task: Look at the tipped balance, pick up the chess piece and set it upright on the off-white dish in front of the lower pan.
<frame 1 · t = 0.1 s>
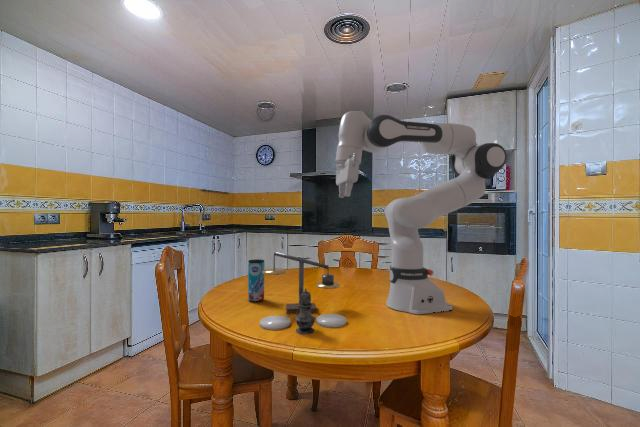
hand: (344, 197, 107), 39 cm above the table, tool pointing down, fingers open, 8 cm apart
beverage can: (256, 301, 115), on the table
chess piece: (305, 331, 87), on the table
dish low side: (331, 322, 94), on the table
balance: (301, 310, 104), on the table
dish high side: (275, 324, 91), on the table
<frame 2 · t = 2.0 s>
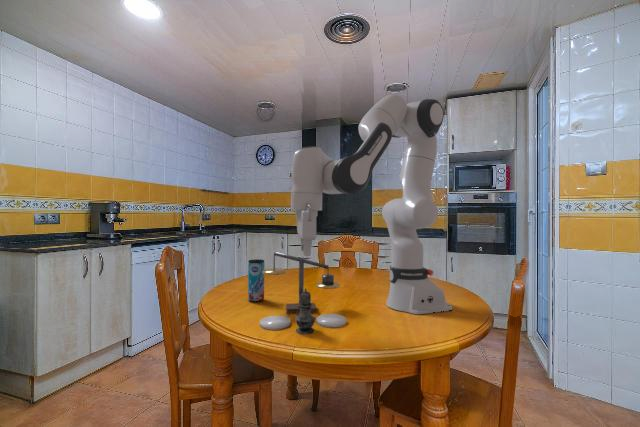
hand: (305, 253, 86), 22 cm above the table, tool pointing down, fingers open, 8 cm apart
nothing on the table moved.
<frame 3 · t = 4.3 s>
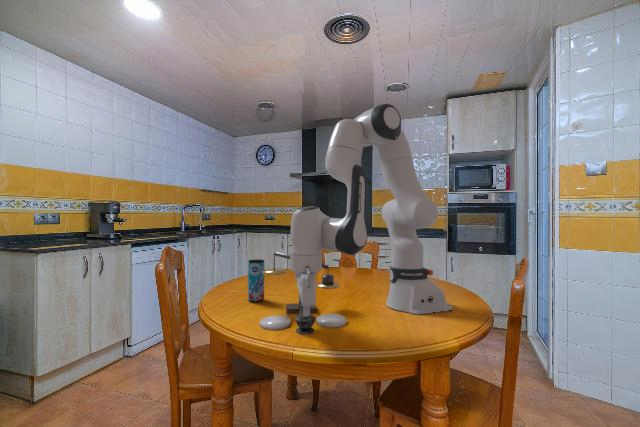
hand: (305, 312, 87), 5 cm above the table, tool pointing down, fingers closed on chess piece, 3 cm apart
chess piece: (305, 331, 87), on the table, touching gripper
everything else where it was.
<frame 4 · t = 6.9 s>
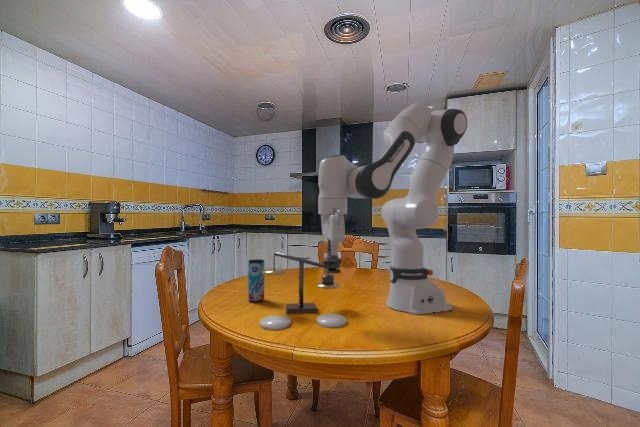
hand: (332, 254, 94), 21 cm above the table, tool pointing down, fingers closed on chess piece, 3 cm apart
chess piece: (332, 272, 94), point 15 cm above the table, touching gripper
everything else where it was.
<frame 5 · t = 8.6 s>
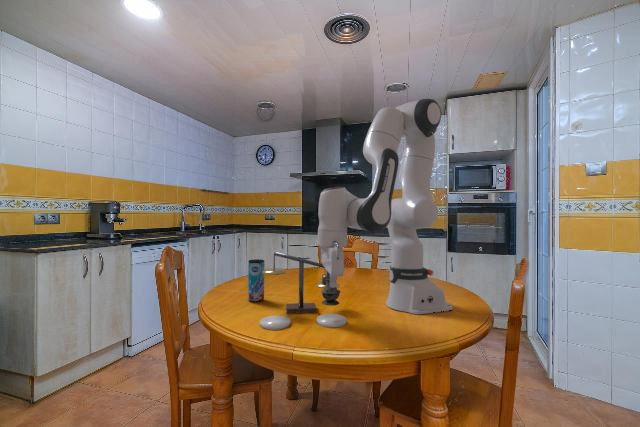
hand: (331, 285, 93), 11 cm above the table, tool pointing down, fingers closed on chess piece, 3 cm apart
chess piece: (330, 303, 93), point 6 cm above the table, touching gripper
everything else where it was.
when the fingers open (7 cm above the table, at t = 9.8 s): chess piece stays where it is, resting on dish low side.
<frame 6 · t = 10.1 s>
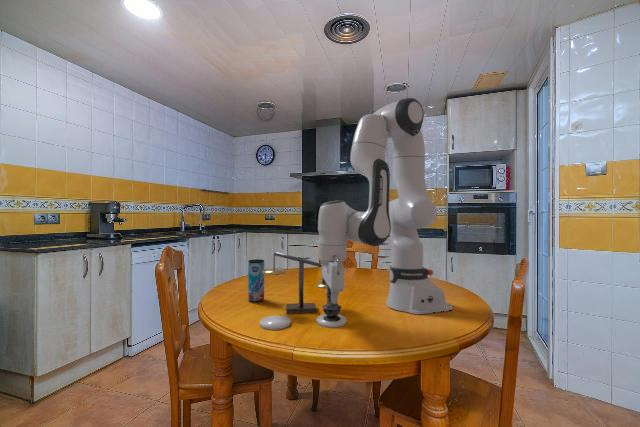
hand: (331, 298, 94), 7 cm above the table, tool pointing down, fingers open, 7 cm apart
chess piece: (331, 319, 94), point 1 cm above the table, touching dish low side
everything else where it was.
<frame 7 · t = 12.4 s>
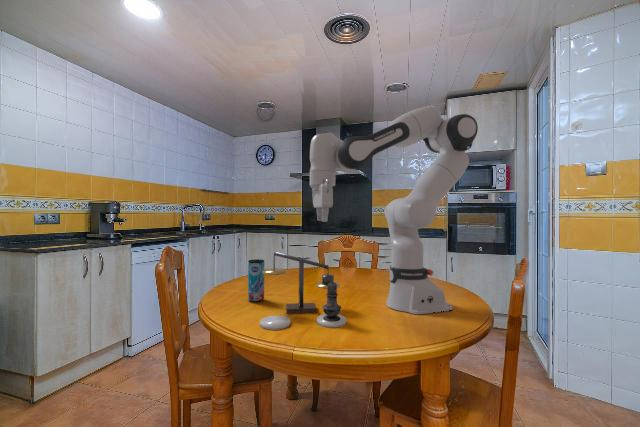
hand: (322, 221, 105), 30 cm above the table, tool pointing down, fingers open, 8 cm apart
nothing on the table moved.
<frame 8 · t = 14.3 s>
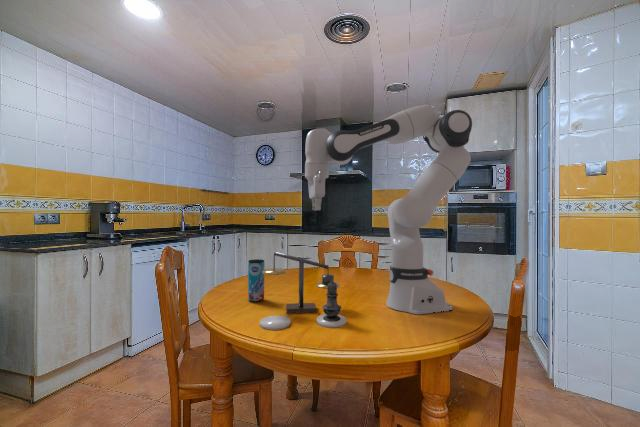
hand: (316, 210, 114), 34 cm above the table, tool pointing down, fingers open, 8 cm apart
nothing on the table moved.
at the end: chess piece 0.1 cm off-centre on the dish low side, point 0.8 cm above the dish low side's base; chess piece tilted 0°; the gripper is holding nothing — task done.
